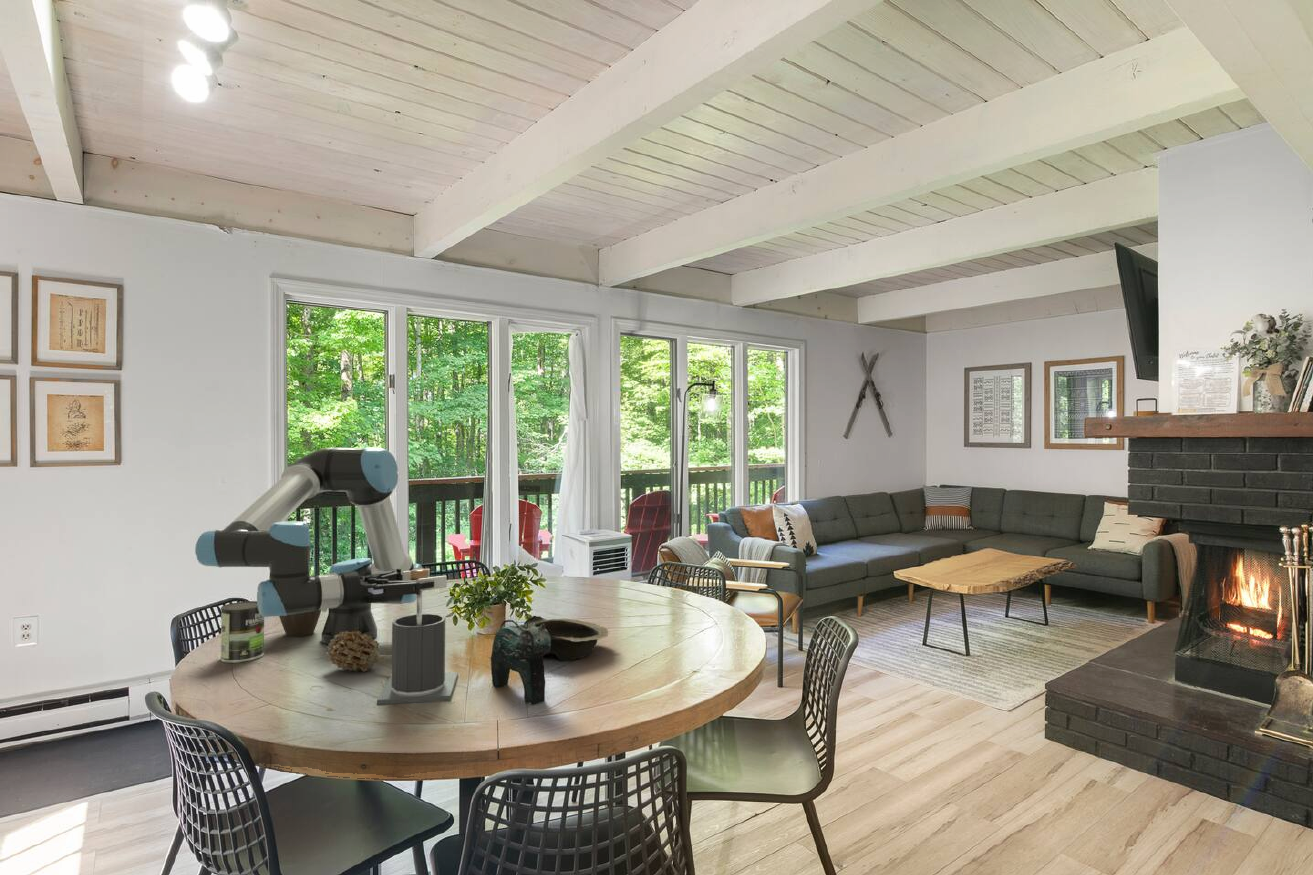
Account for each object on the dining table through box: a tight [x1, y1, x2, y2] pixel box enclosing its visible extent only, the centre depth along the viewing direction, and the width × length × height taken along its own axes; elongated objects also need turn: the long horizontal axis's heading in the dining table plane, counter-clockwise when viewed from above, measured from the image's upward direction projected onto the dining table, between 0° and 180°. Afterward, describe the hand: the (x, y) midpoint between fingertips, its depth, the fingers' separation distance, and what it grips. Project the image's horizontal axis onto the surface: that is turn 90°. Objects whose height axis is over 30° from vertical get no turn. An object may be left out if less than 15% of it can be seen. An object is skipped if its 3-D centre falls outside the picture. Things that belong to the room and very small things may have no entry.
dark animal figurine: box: [490, 610, 551, 706], centre depth 162 cm, size 20×6×20 cm, turn 44°
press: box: [376, 613, 459, 705], centre depth 164 cm, size 16×16×17 cm
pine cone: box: [326, 631, 392, 672], centre depth 176 cm, size 22×10×10 cm, turn 84°
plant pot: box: [278, 610, 322, 638], centre depth 209 cm, size 15×15×16 cm
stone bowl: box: [518, 615, 609, 662], centre depth 193 cm, size 25×25×9 cm
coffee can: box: [220, 600, 265, 664], centre depth 186 cm, size 10×10×14 cm
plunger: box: [411, 568, 429, 626], centre depth 162 cm, size 9×9×27 cm
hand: (437, 577), depth 165 cm, fingers open, 10 cm apart
